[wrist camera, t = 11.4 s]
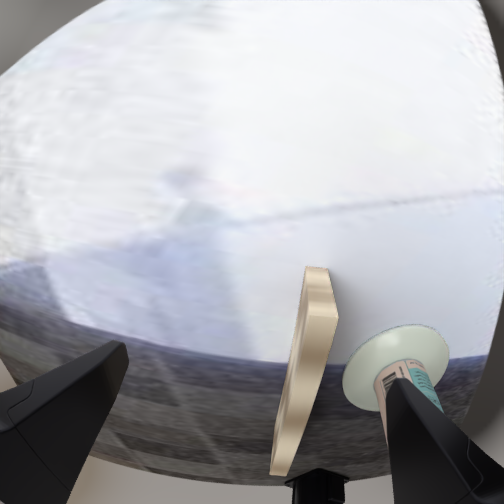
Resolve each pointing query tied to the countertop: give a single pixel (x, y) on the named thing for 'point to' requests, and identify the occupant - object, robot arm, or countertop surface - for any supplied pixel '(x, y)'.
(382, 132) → the countertop surface
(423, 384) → the beer can
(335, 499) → the robot arm
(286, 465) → the birch screen
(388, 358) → the sage pad
